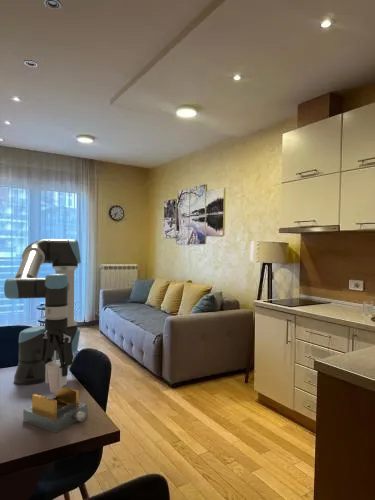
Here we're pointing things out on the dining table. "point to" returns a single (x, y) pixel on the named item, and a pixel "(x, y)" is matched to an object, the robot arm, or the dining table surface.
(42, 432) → the dining table surface
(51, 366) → the smoothie
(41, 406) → the vise
